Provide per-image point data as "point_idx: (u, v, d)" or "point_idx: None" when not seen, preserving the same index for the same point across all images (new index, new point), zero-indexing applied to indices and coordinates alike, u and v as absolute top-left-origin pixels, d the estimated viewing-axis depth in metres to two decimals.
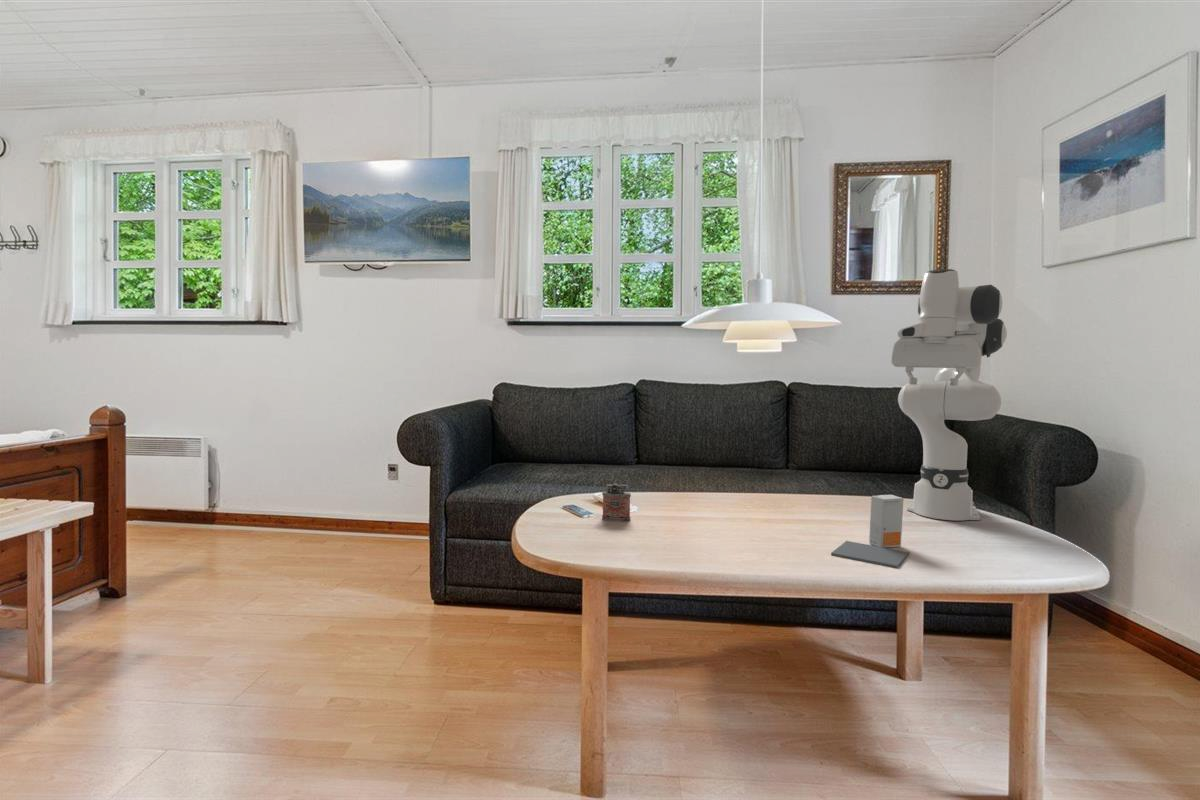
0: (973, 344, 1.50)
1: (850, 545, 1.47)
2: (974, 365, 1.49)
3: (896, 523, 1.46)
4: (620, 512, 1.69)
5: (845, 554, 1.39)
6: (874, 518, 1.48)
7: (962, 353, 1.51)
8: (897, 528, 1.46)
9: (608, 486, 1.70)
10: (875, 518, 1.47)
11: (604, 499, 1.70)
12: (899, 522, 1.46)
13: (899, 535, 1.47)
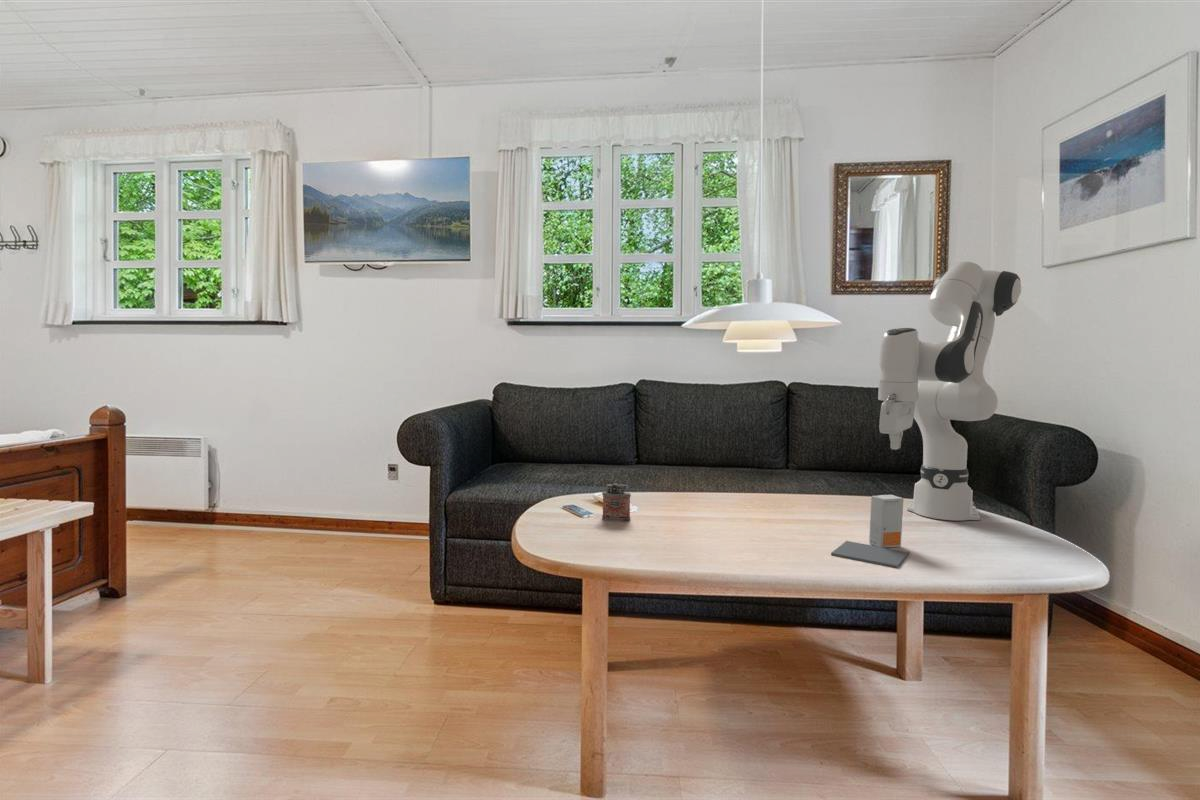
0: None
1: (850, 545, 1.47)
2: (880, 431, 1.46)
3: (896, 523, 1.46)
4: (620, 512, 1.69)
5: (845, 554, 1.39)
6: (874, 518, 1.48)
7: None
8: (897, 528, 1.46)
9: (608, 486, 1.70)
10: (875, 518, 1.47)
11: (604, 499, 1.70)
12: (899, 522, 1.46)
13: (899, 535, 1.47)
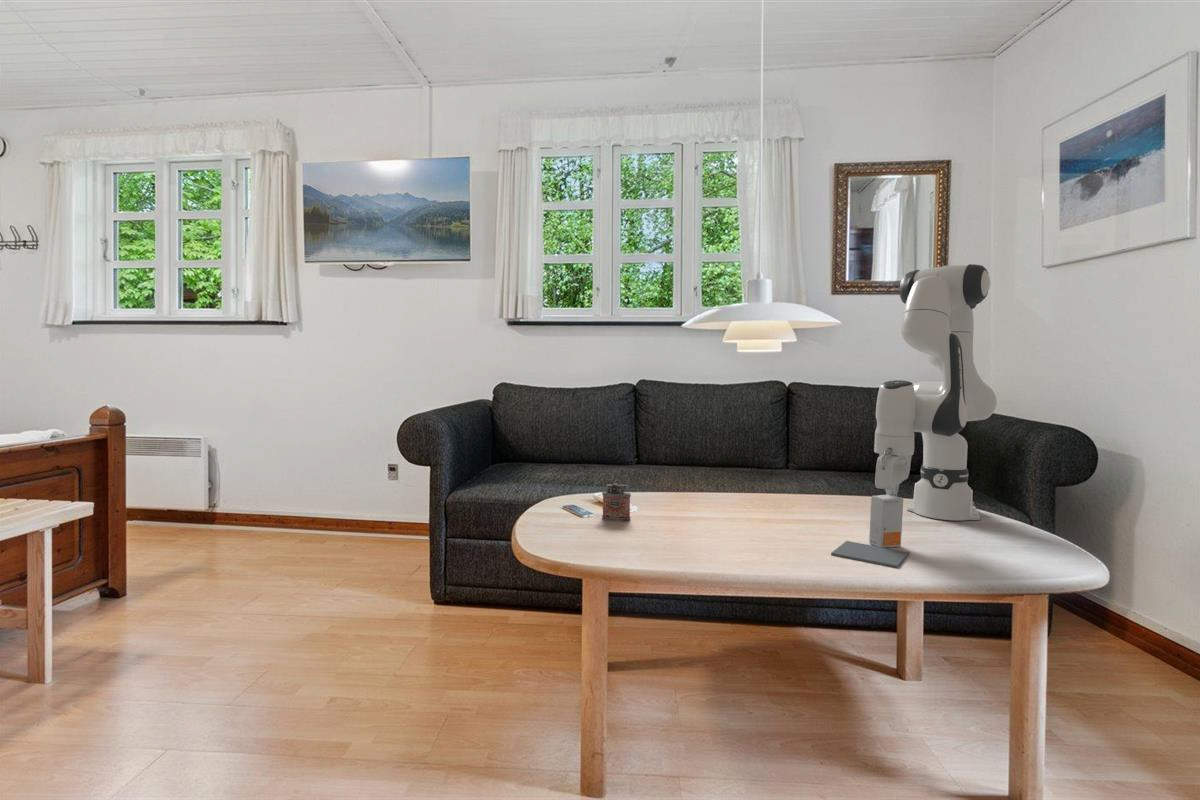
0: (876, 465, 1.45)
1: (850, 545, 1.47)
2: None
3: (896, 522, 1.46)
4: (620, 512, 1.69)
5: (845, 554, 1.39)
6: (874, 518, 1.47)
7: None
8: (897, 528, 1.46)
9: (608, 486, 1.70)
10: (875, 518, 1.47)
11: (604, 499, 1.70)
12: (899, 522, 1.46)
13: (899, 535, 1.47)
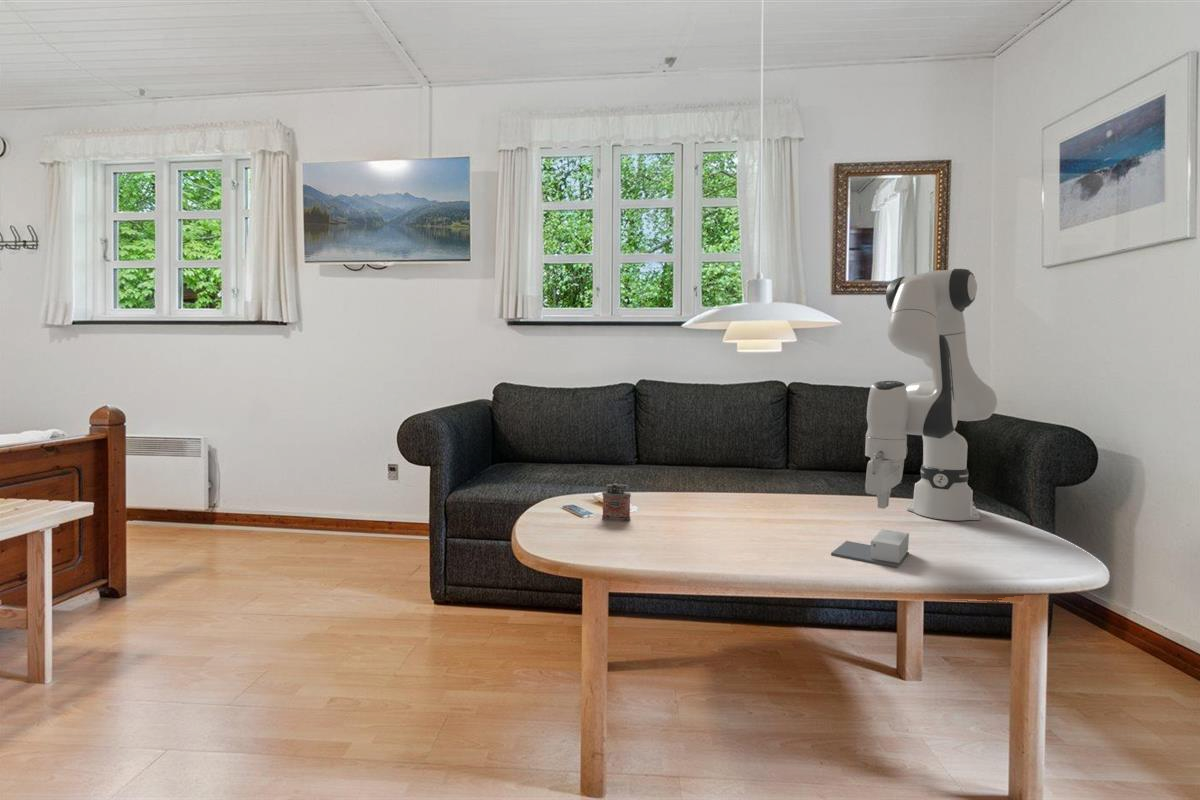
0: (867, 469, 1.39)
1: (850, 545, 1.47)
2: (866, 491, 1.39)
3: None
4: (620, 512, 1.69)
5: (845, 554, 1.39)
6: None
7: None
8: None
9: (608, 486, 1.70)
10: None
11: (604, 499, 1.70)
12: None
13: None
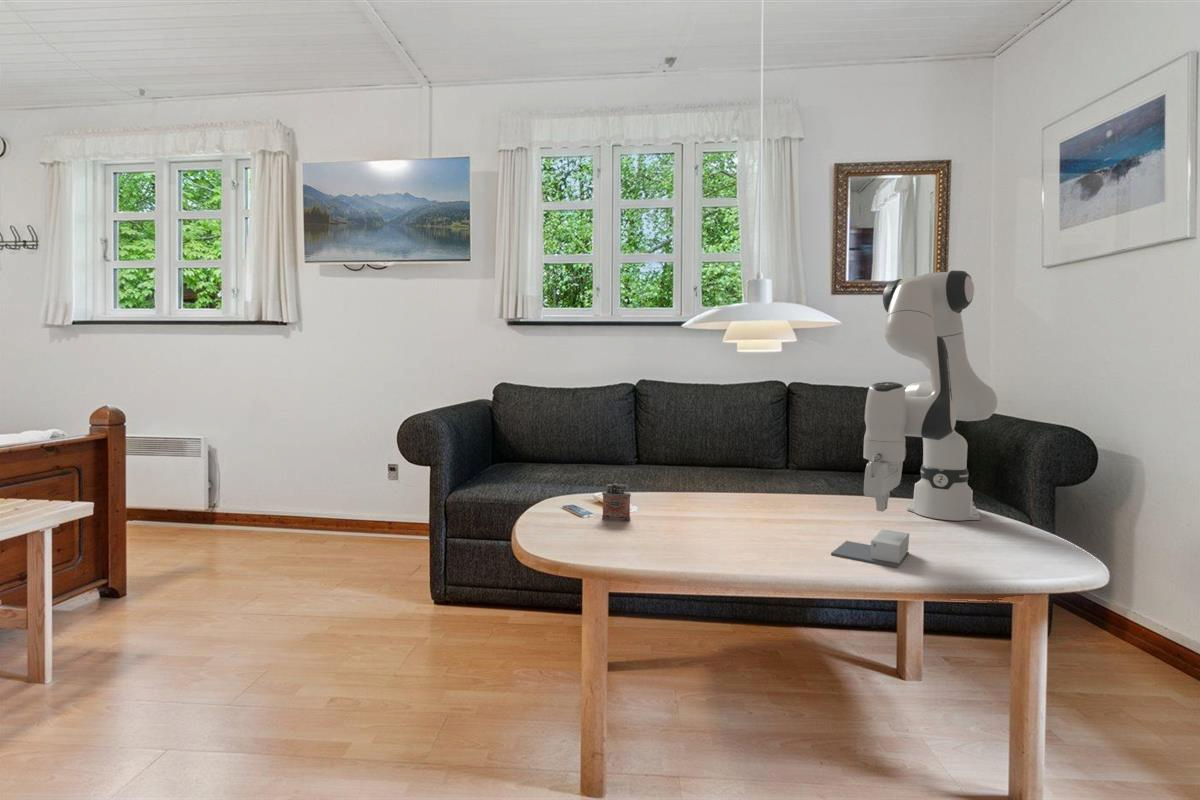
0: (865, 472, 1.37)
1: (850, 545, 1.47)
2: (864, 494, 1.37)
3: None
4: (620, 512, 1.69)
5: (845, 554, 1.39)
6: None
7: None
8: None
9: (608, 486, 1.70)
10: None
11: (604, 499, 1.70)
12: None
13: None
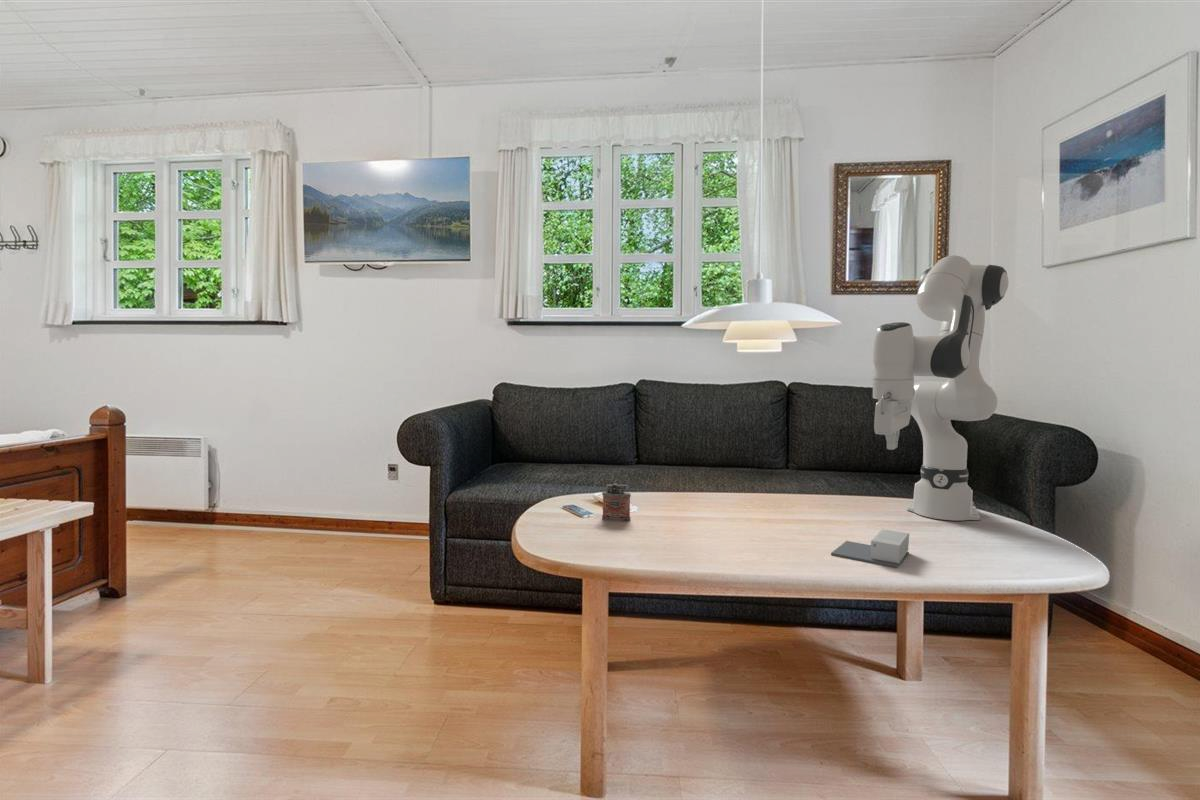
0: (875, 410, 1.40)
1: (850, 545, 1.47)
2: (875, 432, 1.40)
3: None
4: (620, 512, 1.69)
5: (845, 554, 1.39)
6: None
7: None
8: None
9: (608, 486, 1.70)
10: None
11: (604, 499, 1.70)
12: None
13: None
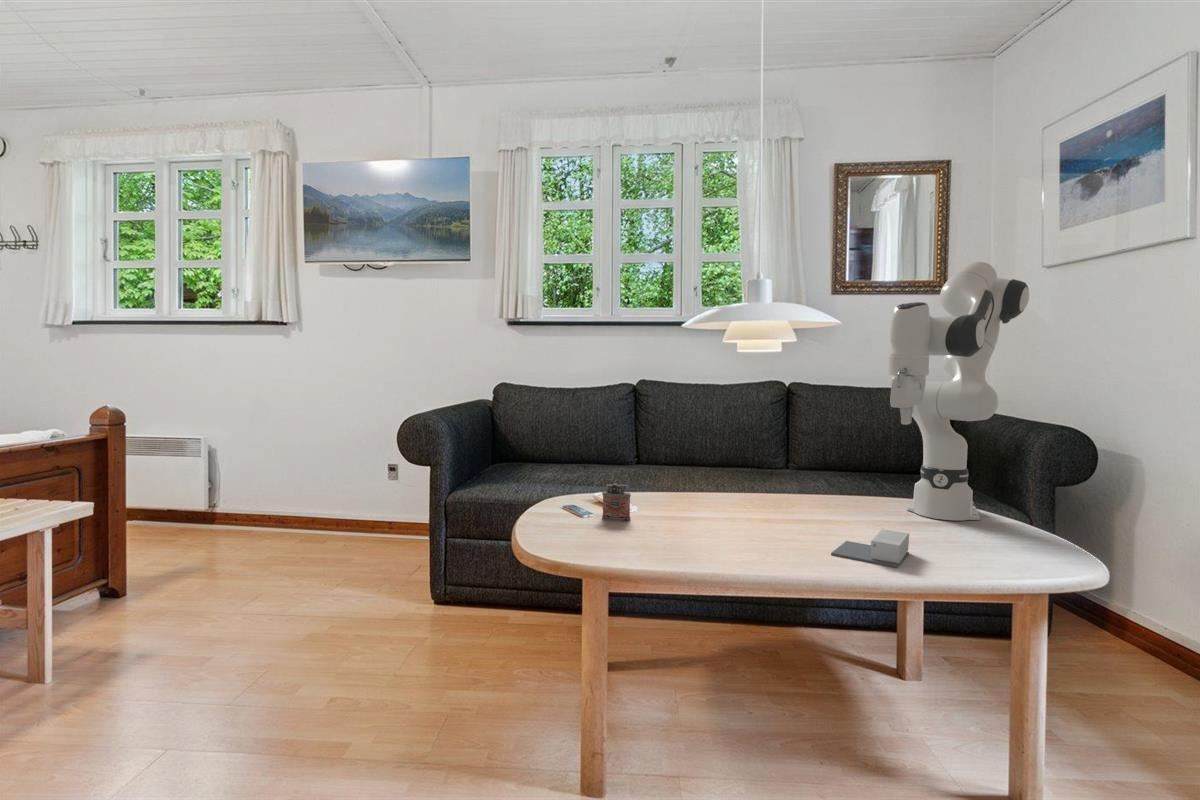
0: None
1: (850, 545, 1.47)
2: (891, 405, 1.45)
3: None
4: (620, 512, 1.69)
5: (845, 554, 1.39)
6: None
7: None
8: None
9: (608, 486, 1.70)
10: None
11: (604, 499, 1.70)
12: None
13: None
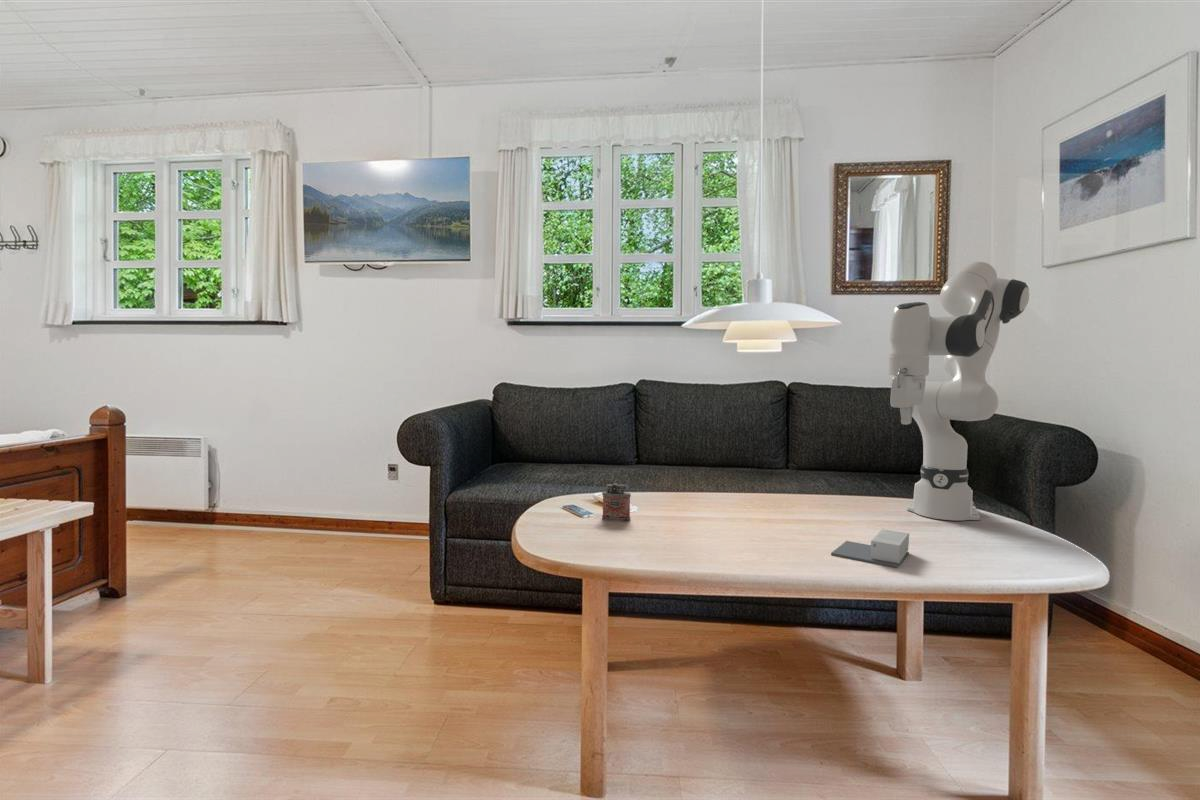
0: None
1: (850, 545, 1.47)
2: (891, 405, 1.45)
3: None
4: (620, 512, 1.69)
5: (845, 554, 1.39)
6: None
7: None
8: None
9: (608, 486, 1.70)
10: None
11: (604, 499, 1.70)
12: None
13: None
